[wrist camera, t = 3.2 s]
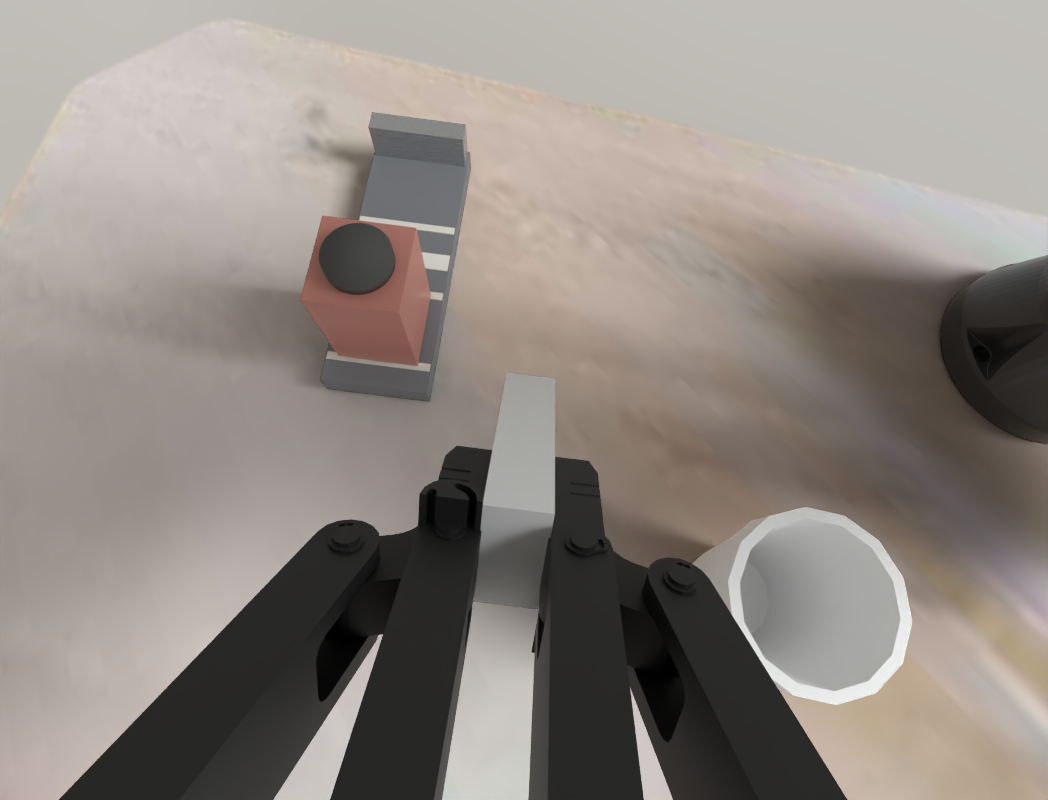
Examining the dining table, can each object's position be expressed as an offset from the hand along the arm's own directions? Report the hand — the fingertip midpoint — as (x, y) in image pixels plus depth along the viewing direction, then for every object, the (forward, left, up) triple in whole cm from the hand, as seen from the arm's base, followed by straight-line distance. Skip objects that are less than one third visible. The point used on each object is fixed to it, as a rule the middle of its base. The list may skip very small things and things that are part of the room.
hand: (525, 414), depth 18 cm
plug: (-5, -16, -24) cm, 29 cm away
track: (-11, -19, -26) cm, 34 cm away
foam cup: (-5, +16, -26) cm, 31 cm away
